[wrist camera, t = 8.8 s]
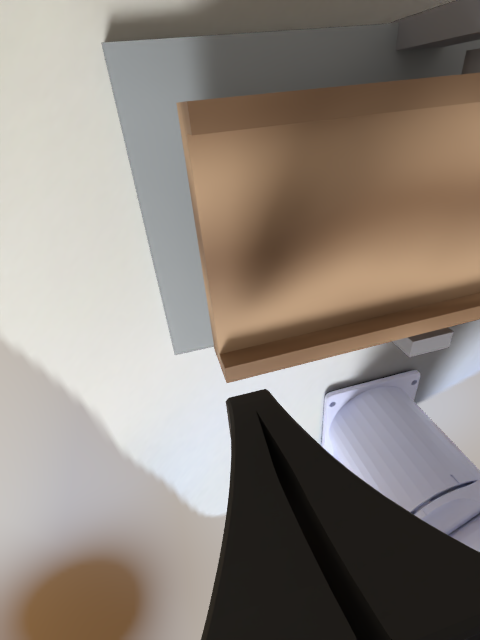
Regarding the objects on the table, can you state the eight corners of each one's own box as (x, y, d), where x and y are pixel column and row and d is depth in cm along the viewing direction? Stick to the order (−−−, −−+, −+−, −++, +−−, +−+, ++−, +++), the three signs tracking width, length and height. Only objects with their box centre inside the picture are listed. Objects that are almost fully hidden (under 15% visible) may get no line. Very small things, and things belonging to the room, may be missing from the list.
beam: (571, 275, 21) (630, 297, 18) (216, 360, 17) (231, 403, 14) (687, 32, 15) (799, 17, 12) (172, 76, 11) (185, 66, 8)
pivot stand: (532, 268, 25) (621, 303, 20) (173, 346, 21) (184, 414, 16) (638, 7, 17) (817, -29, 13) (102, 43, 13) (85, 7, 8)
